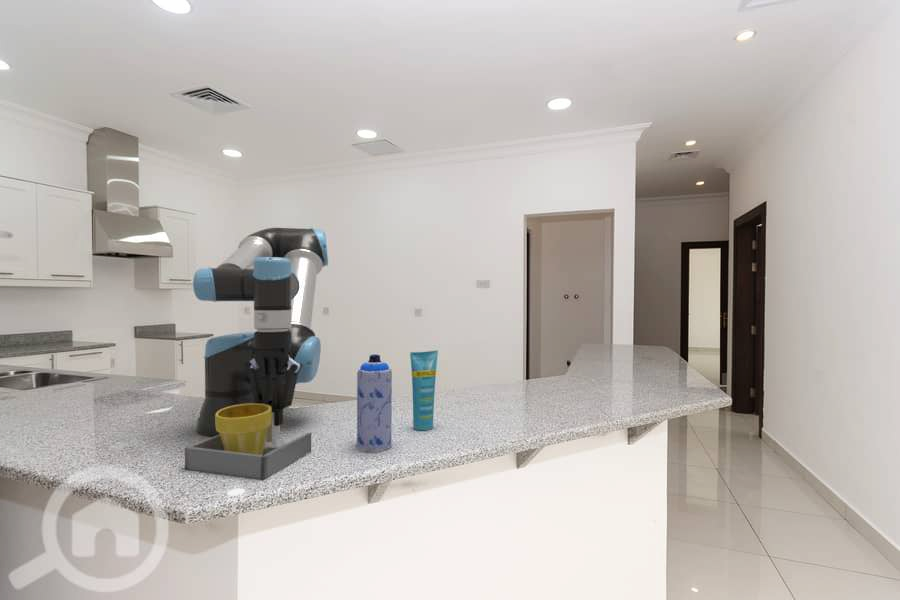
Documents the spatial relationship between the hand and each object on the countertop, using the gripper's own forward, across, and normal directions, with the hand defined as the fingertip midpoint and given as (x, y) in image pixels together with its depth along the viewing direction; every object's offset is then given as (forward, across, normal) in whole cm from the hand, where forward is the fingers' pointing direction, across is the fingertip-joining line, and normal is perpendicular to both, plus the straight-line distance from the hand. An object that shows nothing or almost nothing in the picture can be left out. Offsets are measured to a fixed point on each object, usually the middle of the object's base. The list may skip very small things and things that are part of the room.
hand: (273, 440), depth 97 cm
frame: (+2, 0, -7) cm, 7 cm away
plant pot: (+2, -2, -6) cm, 7 cm away
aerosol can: (+2, +20, +8) cm, 21 cm away
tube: (+2, +26, +24) cm, 35 cm away
